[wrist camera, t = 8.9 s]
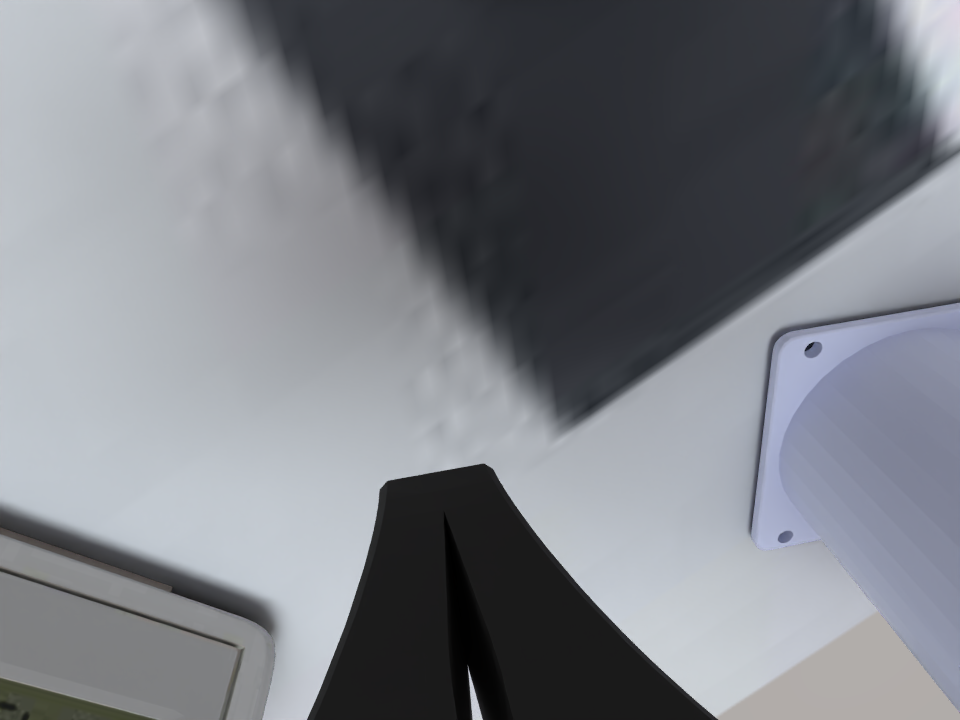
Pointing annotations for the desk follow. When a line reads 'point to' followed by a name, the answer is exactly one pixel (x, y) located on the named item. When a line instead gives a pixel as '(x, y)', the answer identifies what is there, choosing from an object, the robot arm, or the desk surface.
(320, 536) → the desk surface
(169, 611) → the digital clock
